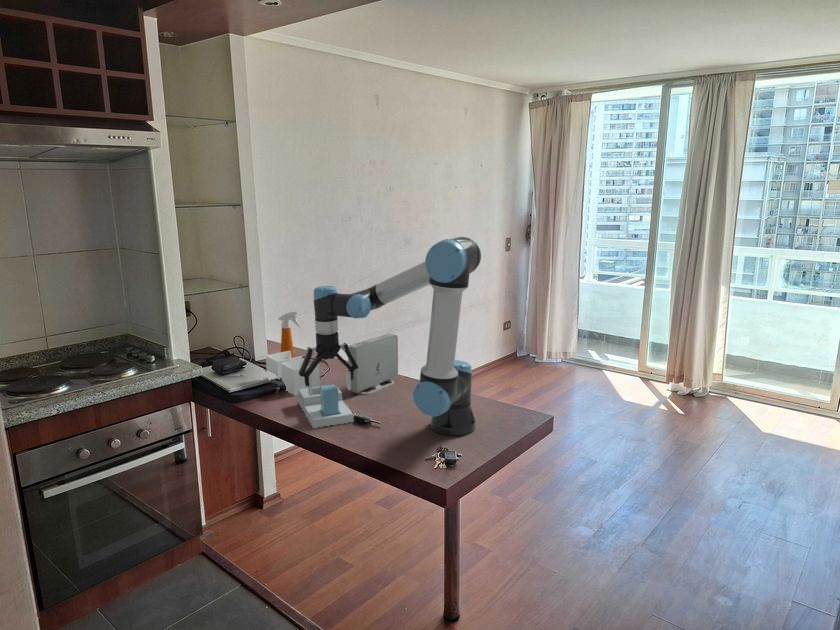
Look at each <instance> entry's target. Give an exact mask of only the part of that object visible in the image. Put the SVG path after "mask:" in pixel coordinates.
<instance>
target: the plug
mask: <svg viewBox="0 0 840 630" xmlns="http://www.w3.org/2000/svg"><path fill="white" fill-rule="evenodd" d="M335 385H336V384H335ZM335 385H334V384H327V385H320V397H321V415H322V416H323V417H324V416H331V415H337V414H339V407H338V388H339V387H338V386H337V385H336V386H337V387H338V388H337V387H336V386H335Z"/></svg>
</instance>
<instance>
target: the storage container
mask: <svg viewBox="0 0 840 630" xmlns="http://www.w3.org/2000/svg"><path fill="white" fill-rule="evenodd" d="M304 359H305V357H304V358H303V356H302V355H300V356H296V357H295V358H291V351H286V352H281V351H280V352H276V353H270V354H266V355H265V363H266V365H265V367H266V368H265V369H266V371H267V370H268V371H270V372H271V373H273V374H275V375H276V376H277V377H278V378H282V381H283V382H284V384H285V386H286V392H287V391H288V393H289V394H291V395H292V394H293V395H292V396H294V395H295V396H294V397H297V396H296V395H298V389H303V388H308V386H307V387H306V385H305V377H303V376H302V377H301V376H300V375H299V371H300V368H301V366H302V364H303V361H304ZM309 366H310V365H308V366H307V368H306V370H307V369H308V367H309ZM305 372H306V371H305ZM310 376H311V380H312V387H317V386H321V385H320V383H321V382H320V381H321V379H320V363H319V364H318V365H317V366H316V368H315V369H314V370H313V372H312V373H311V374H310ZM298 396H299V395H298Z"/></svg>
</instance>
